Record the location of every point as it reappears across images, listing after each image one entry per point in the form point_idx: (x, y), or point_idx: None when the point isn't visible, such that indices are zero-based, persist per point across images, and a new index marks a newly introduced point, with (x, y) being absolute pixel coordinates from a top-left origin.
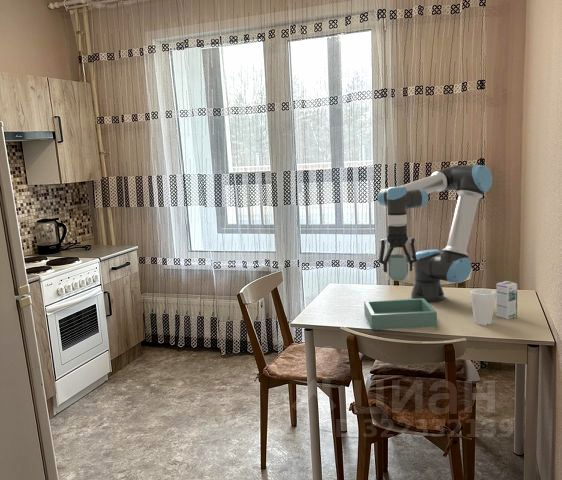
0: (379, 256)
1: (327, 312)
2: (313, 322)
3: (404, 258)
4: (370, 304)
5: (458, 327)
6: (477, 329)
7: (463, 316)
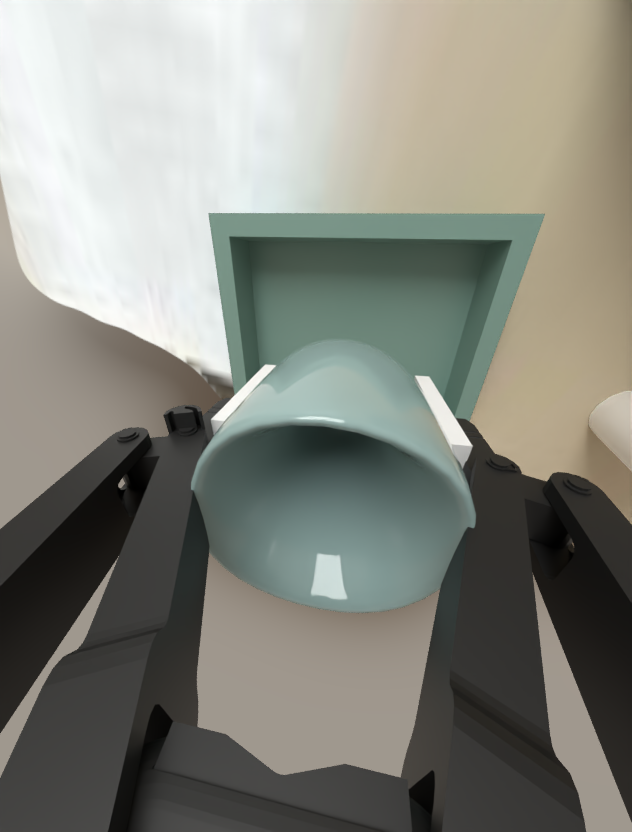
0: (69, 479)
1: (82, 160)
2: (76, 295)
3: (379, 599)
4: (244, 238)
5: (506, 433)
6: (548, 458)
7: (620, 335)
